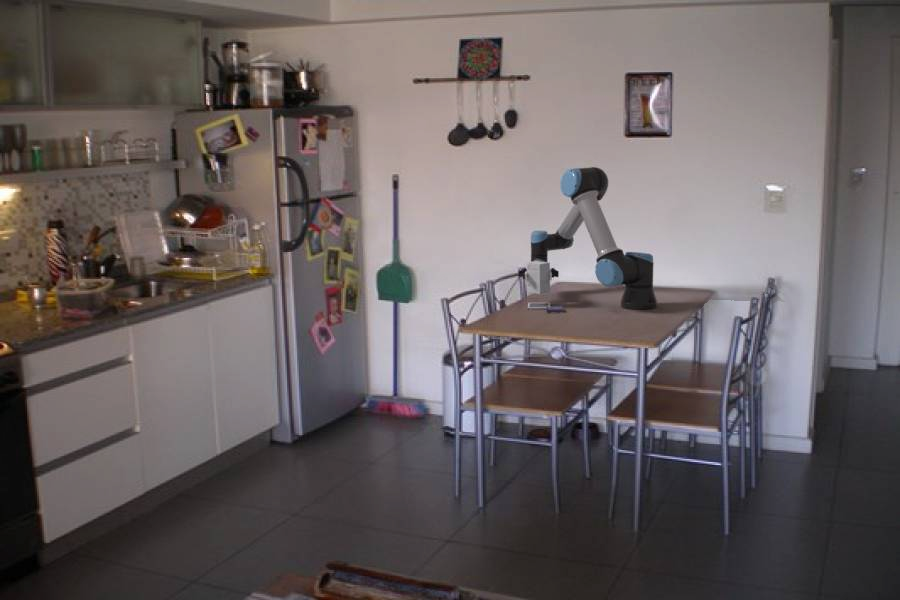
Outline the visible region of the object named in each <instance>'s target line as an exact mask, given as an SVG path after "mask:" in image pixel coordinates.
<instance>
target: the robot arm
mask: <svg viewBox="0 0 900 600" xmlns="http://www.w3.org/2000/svg"><path fill="white" fill-rule="evenodd" d="M608 188H609V178H608V175H607V174H606V172H605V171H604V170H603V169H602V168H600V167H596V166H595V167H594V166H591V167H590V166H589V167H581V168H579V167H574V168H570V169H567V170H566V171H564V173H563V174H562V177H561V180H560V189H561V190H560V191H561V193H562V195H564V196H565V197H568V198H570V199H571V202H572V204H573V206H572V208H571V209H570V211H569V212H568V213H567V215H566V217H565V218H564V219H563V221H562V222H561V224H560V226H559V227H558V228H557V230H556V231H555V232H554V233H548V231H546V230H533V231H532V232H531V234H530V262H533V261H541V262H548V255H549V254H548V253H549V252H548V251H557V250H565V249H570V248H571V247H572V246H573V244H574V241H575V240H574V236H575V235H576V233H577V231H578V230H579V228H580V227H581V225H582V224H583V223H584V224H585V227H586V229H587V232H588V234H589V238H590V240H591V241H592V245H593V246H594V248H595V251H596V253H597V257H596V265H595V267H594V268H595V269H594V272H595V276H596V279H597V280H598V282H599V283H600V284H602V285H603V286H605V287H607V288H608V287H609V288H611V287H619V286H624V291H623V293H622V296H621V299H620V307H621V308H624V309H629V310H651V309H654V308H657V305H658V301H657V297H656V293H655V291H654V287H653V286H654V264H655V263H654V256H653V254H651V253H647V252H634V251H627V252H625V253H624V251H623V249H621V248H619V247H618V246H617V243H616V241H615V238H614V237H613V234H612V231H611V228H610V226H609V225H608V222H607V219H606V217H605V215H604V212H603V210H602V206H601V205H600V203H599V201H601V200H602V199H603V197H604V196H605V195H606V192H607V191H608ZM559 273H560V272H559V270H557V269H555V268H554V267H551V268H550V281H552V280H553V278H559V275H560V274H559ZM518 278H522V280H524V281H527V267H522V269H521V270H519V271H518Z"/></svg>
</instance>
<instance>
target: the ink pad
mask: <svg viewBox="0 0 900 600" xmlns="http://www.w3.org/2000/svg"><path fill="white" fill-rule="evenodd" d="M547 312H548V313H547ZM551 312H557V313H556V314H559V313H558V312H565V311H564V306H550V307H547V310H546V313H547V314H552V313H551Z"/></svg>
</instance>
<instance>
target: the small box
mask: <svg viewBox="0 0 900 600" xmlns="http://www.w3.org/2000/svg"><path fill="white" fill-rule="evenodd" d="M550 265H551V263H550V262H548V261H547V262H541V261H533V262H531V261H527V262H526V269H527V280H526V292H527V293H532V294H537V295H543V294H549V293H550V292H551V280H550V269H551V266H550Z"/></svg>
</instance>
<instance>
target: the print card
mask: <svg viewBox="0 0 900 600" xmlns="http://www.w3.org/2000/svg"><path fill="white" fill-rule="evenodd" d="M527 303H528V304H527V310H528V309H547V307H551V302H549V301H548V302H527Z"/></svg>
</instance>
